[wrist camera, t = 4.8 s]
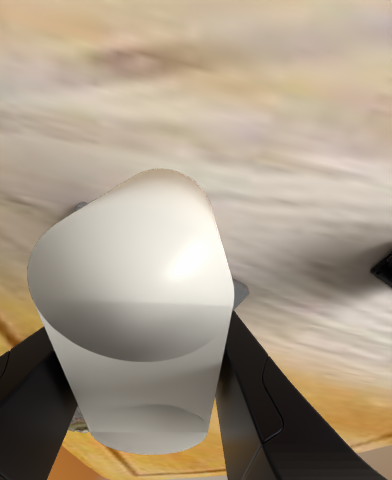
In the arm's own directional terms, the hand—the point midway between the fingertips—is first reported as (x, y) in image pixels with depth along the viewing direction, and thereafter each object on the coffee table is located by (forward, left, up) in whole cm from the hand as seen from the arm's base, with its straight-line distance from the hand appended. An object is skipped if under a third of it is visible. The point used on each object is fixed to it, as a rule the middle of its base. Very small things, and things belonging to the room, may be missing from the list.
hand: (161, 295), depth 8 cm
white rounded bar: (-1, +1, -1) cm, 2 cm away
